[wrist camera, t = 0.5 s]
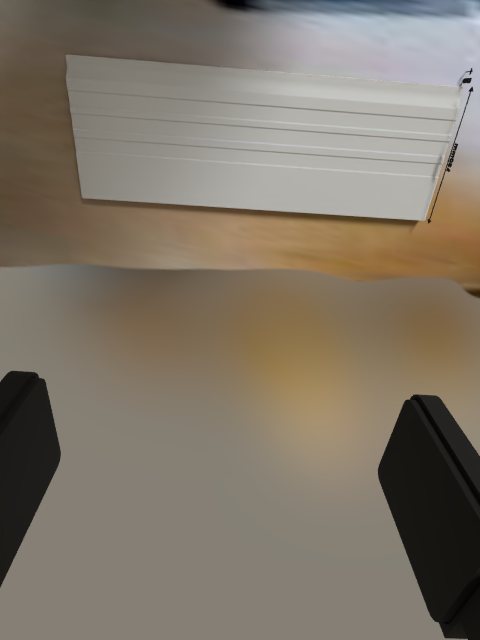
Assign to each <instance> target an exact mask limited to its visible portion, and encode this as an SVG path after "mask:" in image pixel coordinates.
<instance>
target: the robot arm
mask: <svg viewBox="0 0 480 640" xmlns="http://www.w3.org/2000/svg"><path fill="white" fill-rule="evenodd" d="M60 456H61V451H60V446H59V442H58V437H57V432H56V428H55V423H54V419H53V414H52V409H51V405H50V400H49V396H48V391H47V387H46V382H45V380H44V379H42V378H39V376H38V374H37V373H35V372H22V371H10V372H9V373H7V375H6V376H5V377H4V378H3V379H2V380H1V382H0V587H1V584H2V582H3V580H4V578H5V576H6V574H7V572H8V570H9V568H10V566H11V564H12V562H13V559H14V557H15V555H16V553H17V551H18V549H19V547H20V545H21V543H22V541H23V538H24V536H25V534H26V532H27V530H28V528H29V526H30V524H31V522H32V520H33V517H34V515H35V513H36V511H37V509H38V507H39V505H40V503H41V500H42V499H43V496H44V494H45V492H46V490H47V488H48V486H49V484H50V482H51V480H52V478H53V475H54V473H55V471H56V469H57V467H58V464H59V461H60ZM378 477H379V481H380V484H381V486H382V489H383V492H384V494H385V497H386V499H387V502H388V505H389V508H390V510H391V513H392V516H393V518H394V521H395V523H396V526H397V529H398V532H399V534H400V537H401V539H402V542H403V544H404V547H405V550H406V553H407V555H408V558H409V561H410V563H411V566H412V569H413V571H414V574H415V577H416V579H417V582H418V585H419V587H420V590H421V592H422V595H423V598H424V600H425V603H426V606H427V609H428V611H429V613H430V616H431V617H432V618H433V620H434V621H435V622H439V624H440V627H441V629H442V632H443V634H444V637H445V638H459V639H461V638H462V639H468V640H480V456H479V455H478V453H477V452H476V450H475V449H474V447H473V446H472V444H471V443H470V441H469V440H468V439H467V437H466V436H465V434H464V433H463V431H462V430H461V428H460V427H459V425H458V424H457V422H456V421H455V419H454V418H453V416H452V415H451V414H450V412H449V411H448V409H447V408H446V406H445V405H444V403H443V402H442V400H441V399H440V398H439V397H437V396H432V395H413V396H412V397H411V398H410V400H406V401H405V402H404V404H403V407H402V409H401V412H400V414H399V417H398V419H397V422H396V424H395V427H394V429H393V432H392V434H391V437H390V439H389V442H388V444H387V447H386V449H385V452H384V454H383V457H382V459H381V462H380V464H379V467H378Z"/></svg>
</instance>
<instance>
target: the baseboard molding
mask: <svg viewBox="0 0 480 640" xmlns="http://www.w3.org/2000/svg"><path fill="white" fill-rule="evenodd" d="M65 56H66V63H67V73H66V85H67V90H68V96H69V103H70V113H71V118H72V125H73V136H74V140H75V147H76V157H77V165H78V172H79V179H80V186H81V194H82V198H88V199H103V200H118V201H133V202H148V203H163V204H178V205H194V206H209V207H224V208H239V209H254V210H269V211H284V212H299V213H315V214H330V215H345V216H360V217H375V218H390V219H405V220H420V221H425V218H426V215H427V212H428V209H429V206H430V203H431V199H432V196H433V193H434V190H435V187H436V184H437V180H438V176H439V172H440V169H441V166H442V164H443V161H444V158H445V153H446V150H447V147H448V144H449V142H450V139H451V134H452V131H453V128H454V125H455V122H456V120H457V117H458V114H459V111H460V107H459V100H460V95H461V92H462V89H463V87H457V86H445V85H433V84H420V83H408V82H396V81H384V80H372V79H360V78H348V77H336V76H323V75H311V74H299V73H287V72H275V71H263V70H251V69H239V68H226V67H214V66H202V65H190V64H178V63H166V62H154V61H142V60H129V59H117V58H105V57H93V56H81V55H69V54H65ZM467 72H470V74H471V72H472V68H471V71H467ZM470 74H469V75H470ZM471 79H472V78H464V79H463V83H470V82H471ZM464 81H465V82H464ZM469 91H470V94H471V91H473V87H471V89H470V90H469ZM470 94H469V97H470ZM469 97H468V100H469ZM468 100H467V103H468ZM467 103H466V106H467ZM466 106H465V109H466ZM464 112H465V110H464ZM463 115H464V113H463ZM462 119H463V116H462ZM462 119H461V122H462ZM461 122H460V125H461ZM460 125H459V128H460ZM459 128H458V131H459ZM458 131H457V134H458ZM457 134H456V137H457ZM455 140H456V138H455ZM454 143H455V141H454ZM455 145H456V146H454V144H453V146H454V148H455V149H453V147H452V150H456V149H457V146H458V144H455ZM452 150H451V153H452V152H453V153H452V155H453V156H451V153H450V156H451V157H452V158H451V159H450V156H449V159H450V161H449V159H448V162H450V163H449V164H448V163H447V165H448V167H449V166H450V167H451V166H452V162H453V160H454V159H453V158H454V155H455V151H452ZM451 160H452V161H451ZM446 168H447V166H446ZM445 171H448V172H449V171H450V169H449V168H447V170H446V169H445ZM444 174H445V172H444ZM443 178H444V175H443ZM443 178H442V181H443ZM442 181H441V184H442ZM441 184H440V187H441ZM439 190H440V188H439ZM438 193H439V191H438ZM437 196H438V194H437ZM436 199H437V197H436ZM435 202H436V200H435ZM434 206H435V203H434ZM434 206H433V209H434ZM433 209H432V212H433ZM432 212H431V215H432ZM430 218H431V216H430ZM430 222H431V220H430V219H428V223H430Z"/></svg>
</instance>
